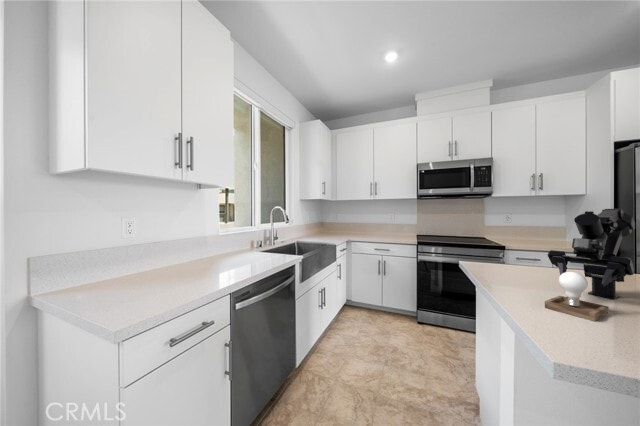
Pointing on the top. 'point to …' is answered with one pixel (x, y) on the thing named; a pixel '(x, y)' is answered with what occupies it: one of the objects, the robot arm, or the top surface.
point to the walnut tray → (577, 308)
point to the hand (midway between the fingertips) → (581, 282)
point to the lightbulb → (573, 286)
